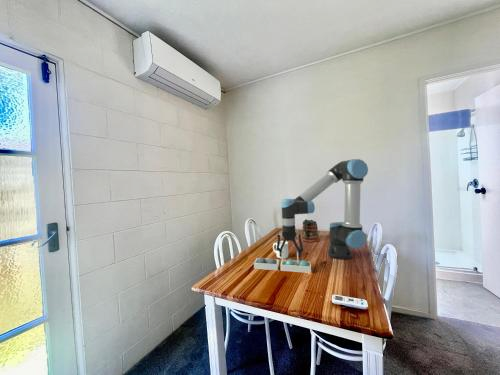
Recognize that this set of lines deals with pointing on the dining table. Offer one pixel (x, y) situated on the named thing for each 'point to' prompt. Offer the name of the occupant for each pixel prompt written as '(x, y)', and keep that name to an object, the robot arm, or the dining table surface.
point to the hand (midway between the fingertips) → (290, 262)
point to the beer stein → (310, 231)
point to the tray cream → (296, 267)
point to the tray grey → (266, 265)
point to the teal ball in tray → (303, 263)
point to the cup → (285, 249)
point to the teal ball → (289, 262)
